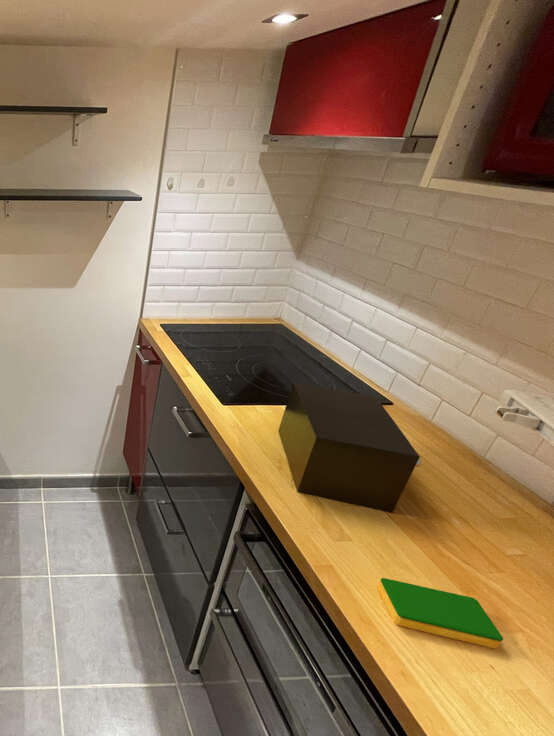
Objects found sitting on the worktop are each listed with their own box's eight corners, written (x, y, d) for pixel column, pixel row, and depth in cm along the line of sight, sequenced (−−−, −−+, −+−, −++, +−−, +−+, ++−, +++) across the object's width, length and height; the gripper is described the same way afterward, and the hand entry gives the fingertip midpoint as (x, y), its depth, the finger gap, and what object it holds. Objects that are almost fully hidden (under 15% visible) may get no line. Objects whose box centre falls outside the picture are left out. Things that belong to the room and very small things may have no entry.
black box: (364, 447, 114) (384, 397, 108) (403, 515, 94) (431, 459, 87) (278, 430, 120) (293, 382, 114) (297, 492, 99) (316, 437, 93)
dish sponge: (375, 586, 79) (380, 576, 78) (469, 607, 75) (476, 597, 74) (394, 624, 72) (399, 615, 71) (498, 650, 69) (505, 640, 68)
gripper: (559, 388, 95) (478, 377, 99) (644, 443, 77) (541, 426, 81) (544, 413, 97) (466, 401, 102) (624, 472, 80) (525, 454, 84)
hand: (500, 413), depth 91 cm, fingers closed
